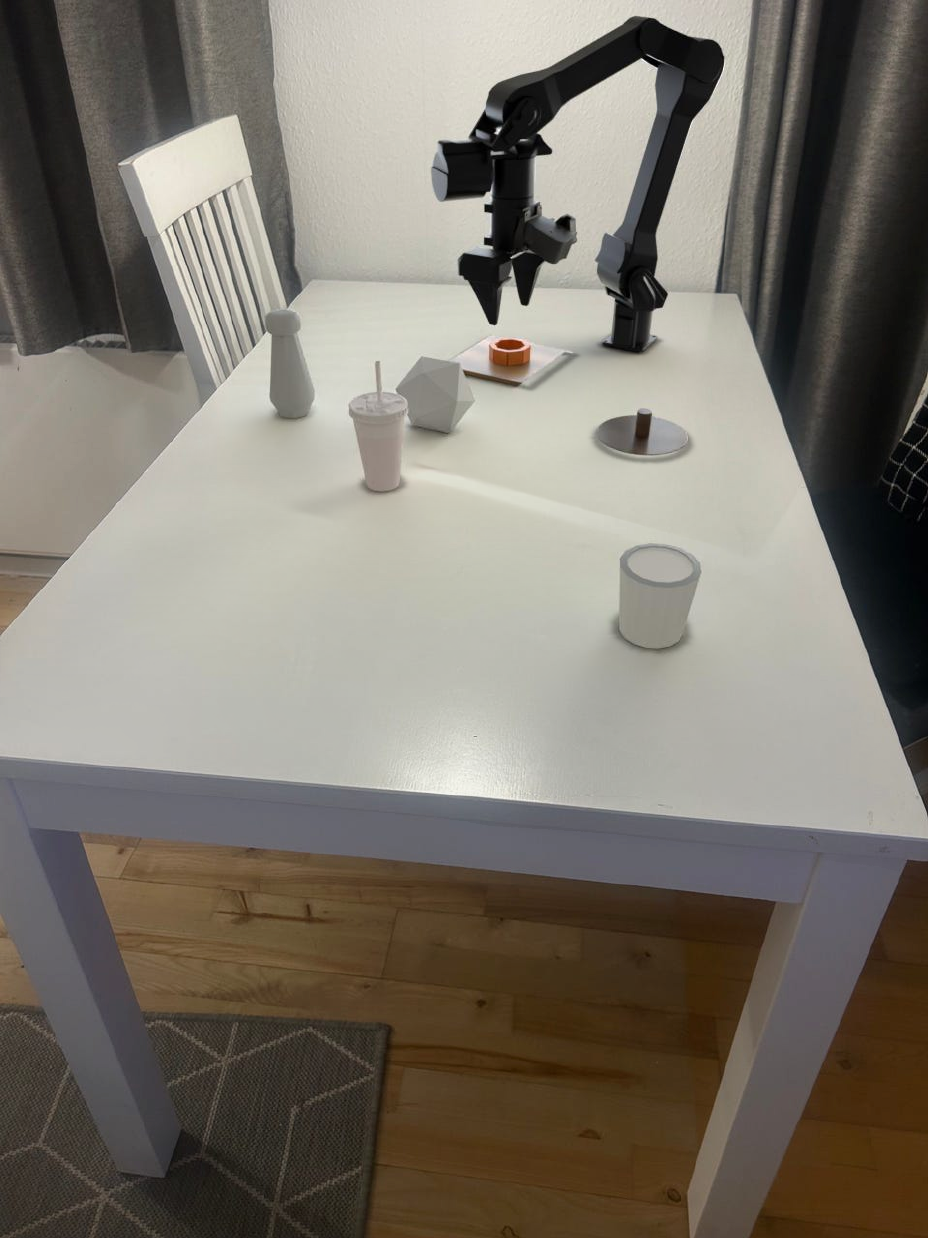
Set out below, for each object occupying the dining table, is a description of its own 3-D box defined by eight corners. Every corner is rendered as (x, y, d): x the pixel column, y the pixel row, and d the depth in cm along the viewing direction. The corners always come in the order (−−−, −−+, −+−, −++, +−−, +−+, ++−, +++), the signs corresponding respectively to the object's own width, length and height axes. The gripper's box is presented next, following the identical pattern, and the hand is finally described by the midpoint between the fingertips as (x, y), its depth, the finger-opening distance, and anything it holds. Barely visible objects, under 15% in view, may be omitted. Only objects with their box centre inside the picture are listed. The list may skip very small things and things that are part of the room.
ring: (501, 348, 135) (502, 335, 133) (535, 355, 132) (536, 341, 131) (482, 360, 131) (483, 347, 130) (517, 368, 128) (517, 354, 127)
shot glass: (604, 608, 84) (611, 543, 80) (677, 604, 84) (688, 540, 80) (621, 655, 78) (629, 589, 74) (699, 651, 79) (712, 584, 75)
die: (485, 424, 117) (458, 349, 116) (476, 417, 108) (448, 336, 107) (423, 447, 118) (397, 373, 118) (410, 443, 110) (381, 363, 109)
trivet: (490, 338, 139) (490, 334, 139) (574, 355, 134) (574, 351, 133) (442, 369, 130) (442, 364, 130) (529, 388, 124) (530, 384, 124)
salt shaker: (321, 403, 121) (311, 304, 113) (311, 422, 116) (299, 320, 108) (278, 401, 121) (264, 303, 113) (266, 420, 116) (251, 319, 109)
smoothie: (419, 475, 105) (415, 356, 96) (398, 501, 100) (392, 379, 91) (368, 466, 106) (359, 349, 98) (345, 492, 101) (334, 371, 93)
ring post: (617, 414, 118) (620, 385, 115) (699, 432, 113) (704, 404, 111) (581, 447, 110) (583, 418, 108) (668, 469, 106) (672, 438, 103)
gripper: (534, 217, 108) (529, 346, 118) (599, 187, 121) (589, 305, 131) (454, 206, 113) (455, 330, 122) (525, 178, 126) (521, 292, 135)
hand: (509, 314), depth 128 cm, fingers open, 9 cm apart
